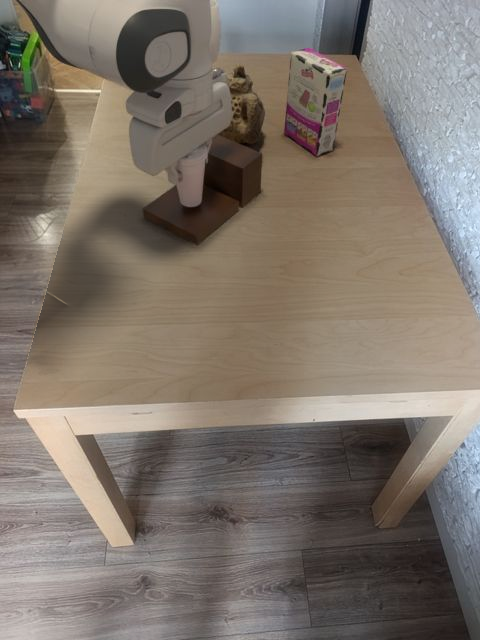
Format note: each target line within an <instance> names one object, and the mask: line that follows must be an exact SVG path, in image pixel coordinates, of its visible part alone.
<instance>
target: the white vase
mask: <svg viewBox="0 0 480 640" xmlns="http://www.w3.org/2000/svg"><path fill="white" fill-rule="evenodd" d="M210 7H211V37H210V41H209V53H210V56H211V60H212V64H214V63H216V62H217V61H218V58H219V53H220V50H221V49H220V48H221V43H222V42H221V41H222V26H221V25H222V24H221V16H220V9H219V3H218V1H217V0H210Z"/></svg>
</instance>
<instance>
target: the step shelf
mask: <svg viewBox="0 0 480 640" xmlns="http://www.w3.org/2000/svg"><path fill="white" fill-rule="evenodd" d="M262 170H263V152H260V151H258V150H256V149H253V148H251V147H249V146H246V145H243V144H239V143H236V142H234V141H232V140H229V139H227V138H224V137H222V136H220V135H215V136H214V137H212V144H211V147H210V150H209V153H208V163H206V164H205V169H204V180H203V191H202V202H201V203H200V204H199V205H198V206H195V207H187V206H184V205H182V204H181V202H180V198H179V194H178V189H177V185H173V186H172V187H171V188H169V189H168V190H166V191H165V192H164V193H162V194H160V195H159V196H158V197H157V198H155V199H154V200H152V201H151V202H150V203H148V204H146V206H144V207H142V213H143V218H144V219H145V220H147V221H149V222H151V223H152V224H155V225H157V226H159V227H161V228H163V229H165V230H167V231H169V232H171V233H173V234H174V235H176V236H178V237H179V238H182V239H184V240H186V241H188V242H190V243H192V244H194V245H196V246H198V245H200V244H201V243H203V241H204V240H206V239H207V238H208V237H209V236H210V235H212V234H213V233H214V232H215V231H216V230H218V229H219V228H220V227H221V226H222V225H224V223H226V222H228V220H230V218H232V217H233V216H234V215H235V214H236V213H238V212H239V210H240V208H244V207H245V206H246V205H247V204H248V203H250V202H251V201H252V200H254V199H255V198H256V197H257V196H258V195H259V194H260V193H261V189H262Z"/></svg>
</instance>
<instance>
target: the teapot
mask: <svg viewBox="0 0 480 640" xmlns="http://www.w3.org/2000/svg"><path fill="white" fill-rule="evenodd" d="M232 70H233V71H232V72H230V73H228V72H226V71H225V73H226V74H227V85H228V87H229V90H230V95H231V105H232V120H231V123H230V125H229V127H227V128H226V129H224V130H223V131H221V132H220V133H218V134H217V135H220V136H222V137H224V138H227V139H229V140H232V141H234V142H236V143H239V144H241V145H243V144H252V145H253V144H255V143H256V142H257V141H258V140H259V138H260V136H261V132H262V127H263V124H264V121H265V115H266V110H265V107H264V103H263V101H262V99H261V97H260V96H259V94H258V93H257V92H256V90H253V85H254V81H253V79H252V78H251V76H250V75H249V74H247V73H246V71H245V66H244V65H243V64H242V63H236V65H234V67H233V68H232Z"/></svg>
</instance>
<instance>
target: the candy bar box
mask: <svg viewBox="0 0 480 640" xmlns="http://www.w3.org/2000/svg"><path fill="white" fill-rule="evenodd" d="M347 73H348V68H347V67H345V66H344V65H342V64H340V63H338V62H336V61H334V60H332V59H331V58H329V57H327V56H325V55H323V54H322V53H320V52H318V51H316V50H314V49H313V48H310V47H306V48H302V49H299V50H296V51H291V53H290V61H289V75H288V85H287V96H286V106H285V108H286V109H285V116H284V117H285V119H284V129H283V134H284V135H285V136H286V137H288V138H290V139H291V140H292V141H294V142H295V143H297V144H298V145H299V146H301V147H302V148H304V149H306V151H308V152H310V153H311V154H312V155H314V156H316V157H319V156H322V155H325V154H328V153H330V152H332V151H334V147H335V141H336V136H337V130H338V125H339V118H340V113H341V107H342V101H343V96H344V90H345V83H346V79H347Z"/></svg>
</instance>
